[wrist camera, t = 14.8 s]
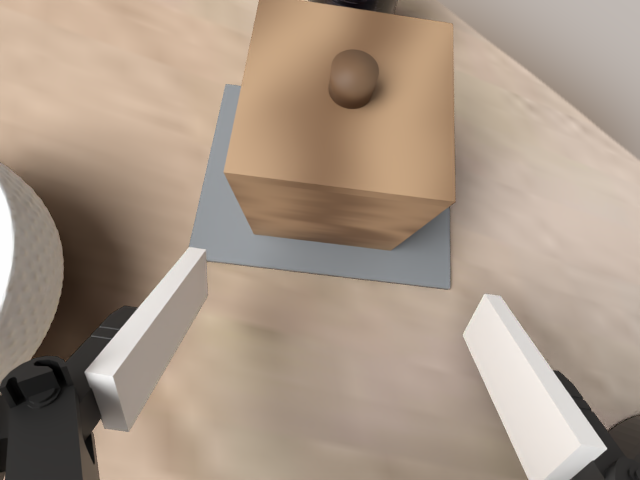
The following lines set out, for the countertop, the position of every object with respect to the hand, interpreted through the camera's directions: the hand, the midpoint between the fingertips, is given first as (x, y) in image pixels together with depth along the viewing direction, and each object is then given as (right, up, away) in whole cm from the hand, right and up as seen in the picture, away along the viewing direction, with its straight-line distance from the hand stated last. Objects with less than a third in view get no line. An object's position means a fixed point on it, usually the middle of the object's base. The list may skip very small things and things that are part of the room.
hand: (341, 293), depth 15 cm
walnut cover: (0, +7, +8) cm, 11 cm away
